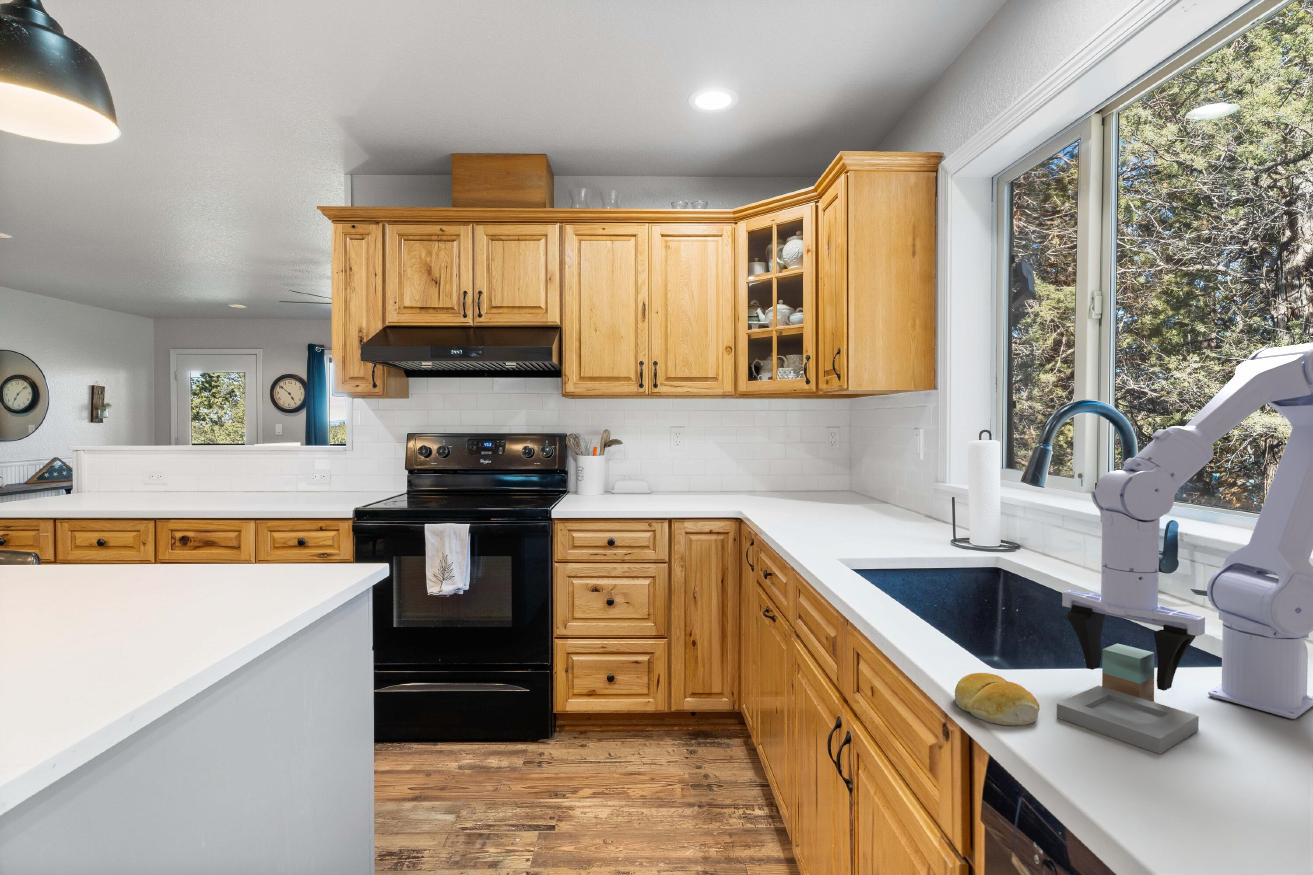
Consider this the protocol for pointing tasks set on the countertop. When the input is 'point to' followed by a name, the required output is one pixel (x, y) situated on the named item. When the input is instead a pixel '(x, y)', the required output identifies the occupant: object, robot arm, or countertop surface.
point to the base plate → (1128, 718)
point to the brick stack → (1129, 671)
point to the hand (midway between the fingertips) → (1127, 677)
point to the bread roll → (996, 699)
